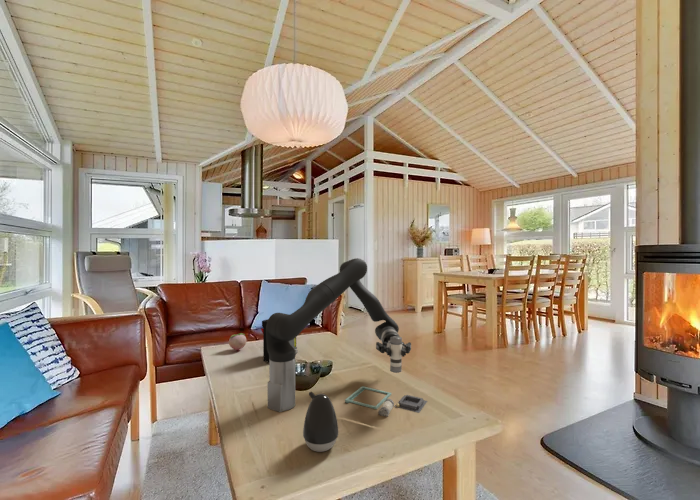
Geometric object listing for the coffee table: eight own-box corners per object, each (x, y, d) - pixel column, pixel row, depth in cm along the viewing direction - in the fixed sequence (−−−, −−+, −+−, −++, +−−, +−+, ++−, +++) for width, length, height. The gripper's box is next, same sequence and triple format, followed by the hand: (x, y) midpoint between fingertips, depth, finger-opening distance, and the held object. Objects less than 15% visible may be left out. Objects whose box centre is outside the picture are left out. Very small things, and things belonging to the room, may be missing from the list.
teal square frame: (376, 412, 120) (376, 407, 120) (345, 403, 126) (345, 399, 126) (391, 396, 132) (391, 392, 132) (362, 389, 138) (362, 386, 138)
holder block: (419, 415, 118) (419, 409, 118) (394, 409, 122) (394, 403, 122) (427, 403, 126) (427, 397, 126) (404, 398, 131) (404, 392, 131)
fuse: (388, 419, 115) (387, 409, 115) (378, 418, 116) (378, 408, 116) (394, 408, 122) (393, 399, 122) (385, 407, 124) (384, 398, 124)
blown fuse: (398, 373, 122) (399, 339, 122) (388, 371, 124) (388, 338, 124) (403, 369, 126) (403, 337, 125) (392, 367, 128) (393, 335, 127)
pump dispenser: (323, 432, 107) (323, 383, 107) (345, 446, 100) (345, 394, 99) (295, 445, 100) (295, 393, 100) (317, 462, 93) (317, 406, 92)
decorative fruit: (236, 354, 181) (236, 335, 181) (226, 351, 185) (226, 333, 185) (250, 349, 189) (250, 331, 189) (240, 347, 193) (240, 329, 193)
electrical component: (275, 364, 167) (275, 323, 166) (260, 360, 172) (260, 320, 172) (299, 354, 182) (299, 316, 181) (284, 351, 187) (284, 314, 186)
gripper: (373, 330, 139) (377, 343, 122) (408, 331, 139) (417, 343, 122) (373, 349, 139) (376, 364, 122) (408, 349, 139) (417, 364, 122)
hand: (397, 353), depth 122 cm, fingers closed on blown fuse, 4 cm apart
